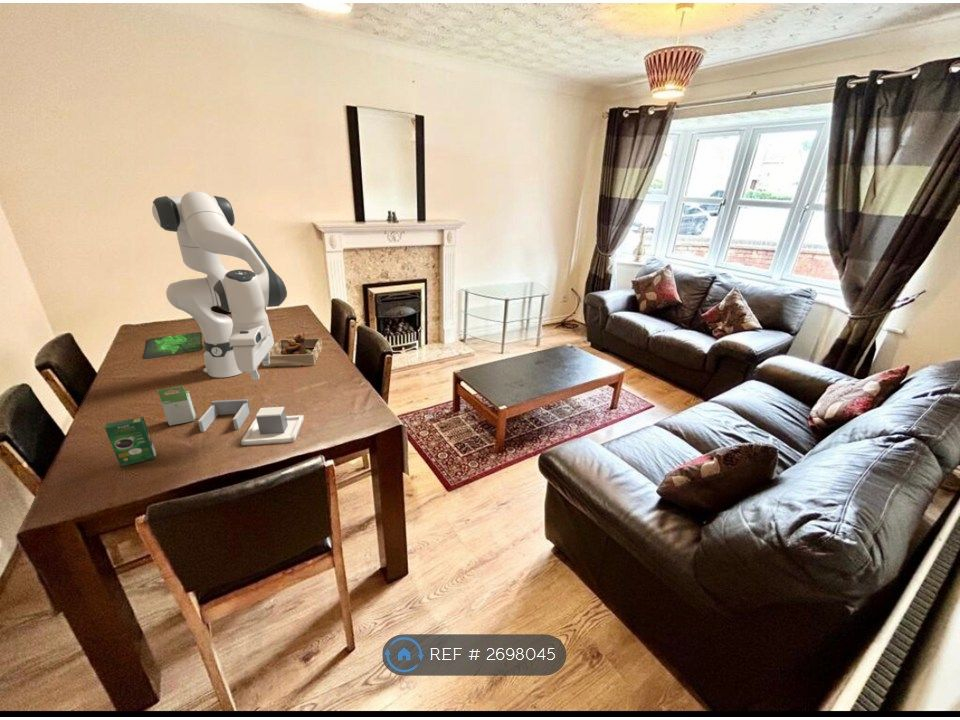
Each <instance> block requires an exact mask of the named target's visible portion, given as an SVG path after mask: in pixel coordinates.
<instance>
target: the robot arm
mask: <svg viewBox="0 0 960 720" xmlns="http://www.w3.org/2000/svg"><path fill="white" fill-rule="evenodd" d="M151 211H152V216H153V218H154V220H155V221H156V223H157V224H158V225H159V227H160V228H161V229H163V230H164V231H168V232H173V233H175V232H176V237H177V242H178V246H179V250H180V254H181V257H182V258H181V259H182V262H183V263H184V265H185V266H186V267H187V268H189V269H191V270H193V271H196V272H199V273H202V274H204V275H207V276H206V277H205V276H204V277H200V278H191V279H182V280H179V281H175V282H171V283H169V284H168V285H167V288H166V291H165V293H166V294H165V295H166V299H167V301H168V302H169V303H170V305H171V306H172V307H174V308H176V309H178V310H180V311H183V312H184V313H186V314H188V315H190V316H191V317H192V318H193V319H194V320H195V321H196V323H197V324H198V326H199V328H200V332H201V335H202V338H203V347H204V349H205V352H204V353H203V357H204V358H203V359H204V364H205V367H204V368H203V373H205V374H208V375H209V376H210V377H212V378H228V377H234V376H237V375H241V374H243V373H249V375H250V377H251V380H252V381H259V380H260V378H261V375H260V372H258V368H259V367H258V366H259V365H260V364H262V366H263V367H265V366H266V367H268V365H269V364H270V359H269V358H270V350H271V349H272V348H273V346H274V345H275V340H274V334H273V331H272V328H271V325H270V322H269V321H270V320H269V316H268V314H267V311H266V309H265V308H272V307H279V306H281V305H282V304H283V303H284V301H285V300H286V298H287V296H288V291H287V287H286V285H285V282H284V281H283V279H282V278H281V276H279V275H278V274H277V273H276V272H275V271H274V269H273V268H272V267H271V265H270V264H269V263H268V262H267V260H266V258H265V257H264V255H263V254H262V253H261V251H260V250H259V249H258V248H257V246H256V245H255V243H254V241H252V240H251V239H250V237H248V235H247V234H245V233H241V232H240V231H238V230H237V229H236V228H234V227H233V226H234V225H235V222H236V221H235V220H236V213H235V209H234V208H233V206H232V204H231V202H230V201H229V200H228V199H227V198H225V197H222V196H218V195H213V196H210V195H209V194H208V193H206V192H203V191H199V190H193V191H188V192H186V193H185V194H183V195H175V196H167V195H164V196H160V197H155V199H154V200H153V201H152V206H151ZM220 255H222V256H223V255H225V256H229V257H234V258H237V259H241V260H243V261H245V262H246V263H247V264H248V266H249V268H251V270H252V271H251V270H248V269H233V270H228V269H227V268H226V267H225V265H224V264H223V263H222V262H223V261H222V260H221V257H220ZM212 307H218V308H220V309H222V311H223V310H224V311H225V312H228V313H231V312H232V315H231V317H230V316H228V315H227V314H224V313H219V312H215V311H213V310H212Z"/></svg>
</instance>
